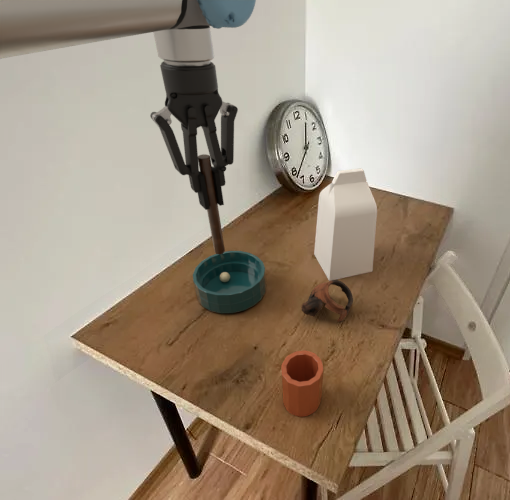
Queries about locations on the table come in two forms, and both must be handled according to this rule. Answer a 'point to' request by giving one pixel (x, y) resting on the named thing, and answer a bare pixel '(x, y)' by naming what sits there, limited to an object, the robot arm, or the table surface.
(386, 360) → the table surface
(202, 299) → the bowl
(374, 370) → the table surface
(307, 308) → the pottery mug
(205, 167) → the stirring stick
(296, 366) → the crock
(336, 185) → the milk
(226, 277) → the bead
